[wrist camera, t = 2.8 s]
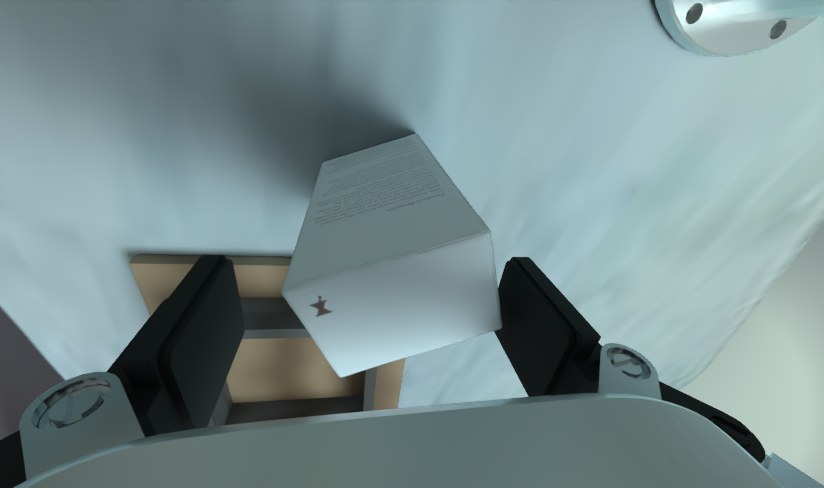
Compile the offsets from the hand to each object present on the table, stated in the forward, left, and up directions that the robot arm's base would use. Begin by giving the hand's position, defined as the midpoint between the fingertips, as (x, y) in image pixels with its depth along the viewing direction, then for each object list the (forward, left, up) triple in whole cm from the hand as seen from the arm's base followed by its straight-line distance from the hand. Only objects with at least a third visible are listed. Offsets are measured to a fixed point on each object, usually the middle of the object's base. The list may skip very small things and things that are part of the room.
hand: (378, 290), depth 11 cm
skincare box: (-1, -1, -10) cm, 10 cm away
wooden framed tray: (+5, +14, -10) cm, 19 cm away
